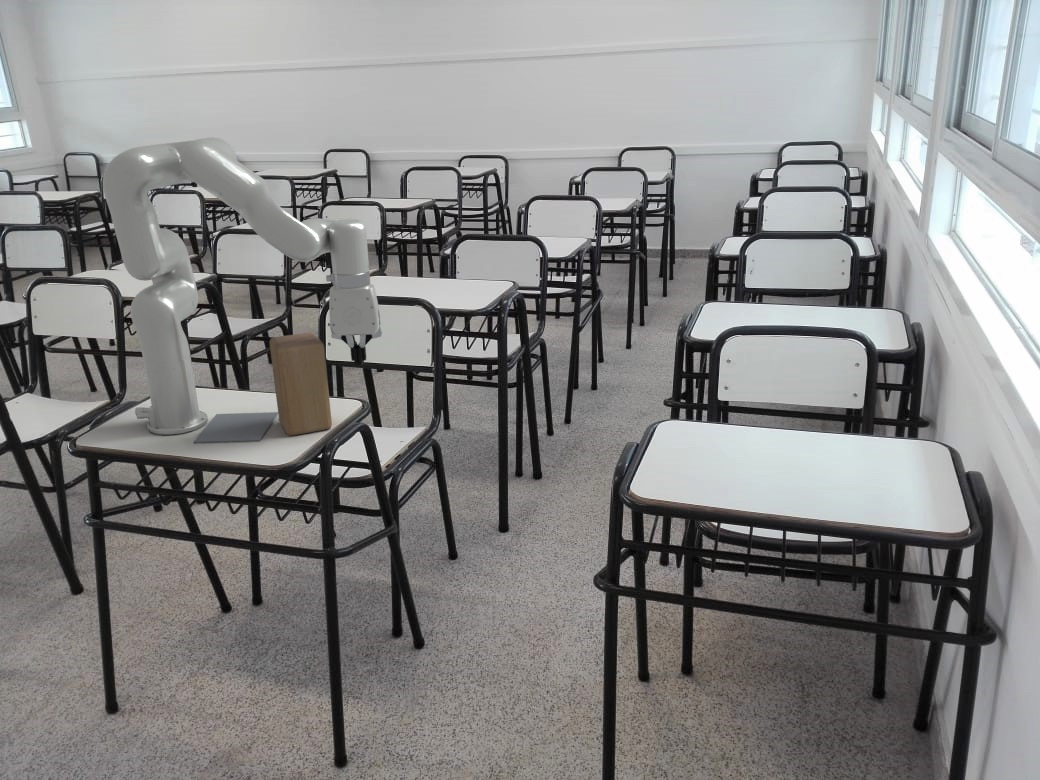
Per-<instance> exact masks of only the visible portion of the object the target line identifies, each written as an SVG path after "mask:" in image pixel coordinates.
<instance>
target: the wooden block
mask: <svg viewBox="0 0 1040 780" xmlns="http://www.w3.org/2000/svg"><path fill="white" fill-rule="evenodd" d="M269 348H270V349H269V350H270V357H271V367H272V374H273V380H274V382H273V383H274V389H275V390H274V391H275V396H276V397H275V400H276V404H277V412H278V415H277V416H278V420H279V423H280V424H281V426H282V429H283V430H284V432H285V434H286V435H287V436H290V437H291V436H297V435H302V434H308V433H314V432H319V431H325V429H326V430H330V429H331V428H332V425H333V422H332V413H331V412H332V410H331V402H330V393H329V390H330V389H329V382H328V373H327V372H328V371H327V363H326V353H325V345H324V343H323V342H322V340H321V339H320V338H319V337H318V336H317V335H316V334H315V333H314V332H311V331H309V332H305V333H303V332H302V333H295V334H289V335H282V336H281V335H280V336H273V337H272V338H270V339H269Z"/></svg>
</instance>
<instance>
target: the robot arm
mask: <svg viewBox="0 0 1040 780" xmlns="http://www.w3.org/2000/svg"><path fill="white" fill-rule="evenodd" d="M188 183H195V184H197V185H198V186H199V187H201V188H202V189H203V190H205V191H207V192H208V193H210V194H211V195H212V196H214V197H215V198H217V200H218V199H219V200H220V201H221V202H223V203H224V204H225V205H227V206H228V207H230V208H232V210H233V211H236V212H237V213H238V214H239V215H240V216H242V218H243V219H244V221H245V222H246V223H247V225H248V226H249V227H250V228H251V230H253V232H254V233H256V235H257V236H258V237H260V238H261V239H262V240H263V241H265V242H266V243H267V244H269V245H270V246H271V247H273V248H274V249H276V250H277V251H278V252H280V253H282V254H283V255H285V256H286V257H288V258H290V259H292V260H294V261H297V262H300V263H301V262H302V263H307V262H313V261H314V260H316V259H317V258H318V257H320V256H322V255H323V254H324V255H325V254H326V253H330V257H331V258H330V259H331V267H332V272H331V274H328V275H327V274H326V276H325V279H326V283H327V282H330V283H332V285H333V286H331V287H330V289H329V301H328V302H329V304H328V305H329V306H328V307H329V311H328V312H329V328H330V332H331V335H330V337H331V338H332V339H334V340H339V341H340V340H341V341H343V342H344V343H345V344H346V345H347V346H348V347H349V348H350V358H351V361H352V362H354V363H353V364H354V366H358V365H359V366H363V365H364V362H365V361H367V348H366V345H367V344H369V342H370V341H371V340H373V339H378V338H380V337H381V338H382V335H383V331H382V329H381V315H380V308H379V301H378V298H377V292H376V289H375V286H374V284H372V283H371V274H370V263H369V251H368V250H369V249H368V248H369V247H368V240H367V227H366V224H365V223H364V222H363V221H362V220H359V219H355V218H353V219H351V218H349V219H347V218H345V219H344V218H343V219H338V220H336V219H327V218H317V217H311V218H307V219H305V220H303V221H300V220H298V218H296V217H294V216H293V215H291V214H290V213H289V212H288V211H286V210H284V208H283V207H281V206H280V205H279V203H278V202H276V201H275V200H274V199H273V196H272V195H271V192H270V189H269V186H268V184H267V181H265V179H264V178H263V177H261V176H260V175H258V174H257V173H256V172H254V171H252V170H251V169H250V168H248V167H247V166H245V164H242V163H241V162H240V161H239V160H238V157H237V153H236V151H235V150H234V147H232V145H231V144H230V143H228V142H227V141H226V140H224V139H222V138H219V137H210V136H209V137H204V138H203V137H202V138H197V139H194V140H186V141H184V140H183V141H178V142H177V141H176V142H167V143H157V144H150V145H143V146H137V147H131V148H129V149H127V150H124V151H122V152H120V153H119V154H117V155H116V156H115V157H113V158H112V159H111V161H109V163H108V164H107V165H106V168H105V169H104V173H103V176H102V190H103V194H104V197H105V200H106V203H107V206H108V210H109V213H110V215H111V221H112V222H113V223H112V224H113V228H114V232H115V236H116V239H117V243H118V247H119V251H120V254H121V258H122V262H123V265H124V268H125V269H126V272H127V273H128V274H129V275H130V276H131V277H132V278H133V279H136V280H138V281H151V282H152V284H151V285H149V286H147V287H145V288H142V290H141V291H139V292H138V293H137V294H136V295H135V297H134V298H133V300H132V301H131V305H130V317H131V321H132V324H133V326H134V329H135V331H136V334H137V337H138V341H139V345H140V350H141V354H142V359H143V360H142V361H143V365H144V370H145V375H146V382H147V387H148V393H149V399H150V404H151V405H150V406H149V407H145V406H142V407H136V408H135V409H134V413H135V417H136V419H137V420H140V419H141V420H142V419H147V420H149V421H148V422H147V426H146V427H147V429H148V431H149V432H150V433H152V434H156V435H164V436H166V435H179V434H184V433H189V432H192V431H195V430H198V429H200V428H201V427H204V426H205V425H206V424H208V421H209V419H208V416H209V415H208V414H207V413H206V412H205V411H203V410H200V408H199V407H200V406H199V401H198V394H197V388H196V382H195V376H194V370H193V364H192V358H191V351H190V347H189V346H190V345H189V342H188V338H187V336H186V334H185V332H184V330H183V327H182V323H181V322H182V321H184V320H185V319H187V318H188V317H190V316H191V315H192V314H193V313H194V312H195V311H196V309H197V307H198V304H199V293H198V288H197V284H196V280H195V276H194V271H193V267H192V262H191V259H190V255H189V252H188V248H187V246H186V244H185V243H184V240H183V239H182V238H181V237H180V236H179V235H178V234H177V233H176V232H174V231H172V230H171V229H168V228H162V227H160V224H159V220H158V214H157V212H156V209H155V206H154V205H153V203H152V201H151V200H150V198H149V195H148V194H149V192H151V191H153V190H157V189H161V188H165V187H168V186H173V185H181V184H188ZM355 336H359V342H357V340H356V337H355Z"/></svg>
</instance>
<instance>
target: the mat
mask: <svg viewBox="0 0 1040 780" xmlns="http://www.w3.org/2000/svg"><path fill="white" fill-rule="evenodd" d="M278 416H279V415H278V411H274V412H273V411H271V412H268V411H267V412H239V413H237V412H236V413H234V412H233V413H216V414H215V415H214V416H213V418H212V419H211V420H210V421H209V422H208V423H207V425H206V426H205V427H204V428H203V429H202V431H201V432H200V433H199V434H198V435H197V436H196V438H195V439H194V440H193V444H211V443H212V444H213V443H215V444H217V443H247V442H261V440H262V439H263V437H264V436H265V434H266V433H267V432H268V430H269V428H270V427H271V425H272V424H273V422H274V421H275V419H276V418H277V417H278Z"/></svg>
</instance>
